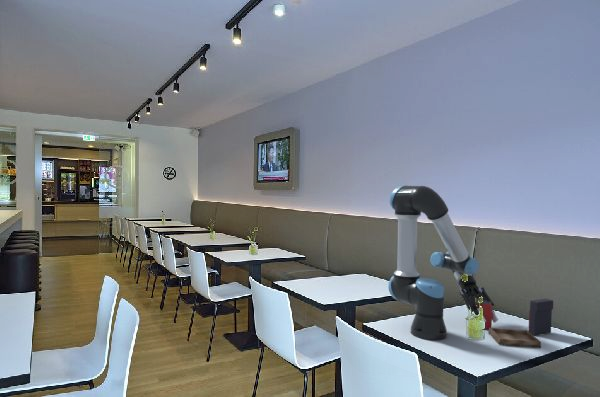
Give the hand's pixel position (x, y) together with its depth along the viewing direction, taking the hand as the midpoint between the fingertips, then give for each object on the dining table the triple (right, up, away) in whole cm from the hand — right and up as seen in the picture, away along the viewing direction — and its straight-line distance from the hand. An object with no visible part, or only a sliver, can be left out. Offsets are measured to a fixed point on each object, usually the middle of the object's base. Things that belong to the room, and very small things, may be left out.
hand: (490, 321), depth 189 cm
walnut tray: (+4, -4, -13) cm, 14 cm away
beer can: (-1, -4, +3) cm, 5 cm away
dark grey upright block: (+21, -4, -3) cm, 22 cm away
